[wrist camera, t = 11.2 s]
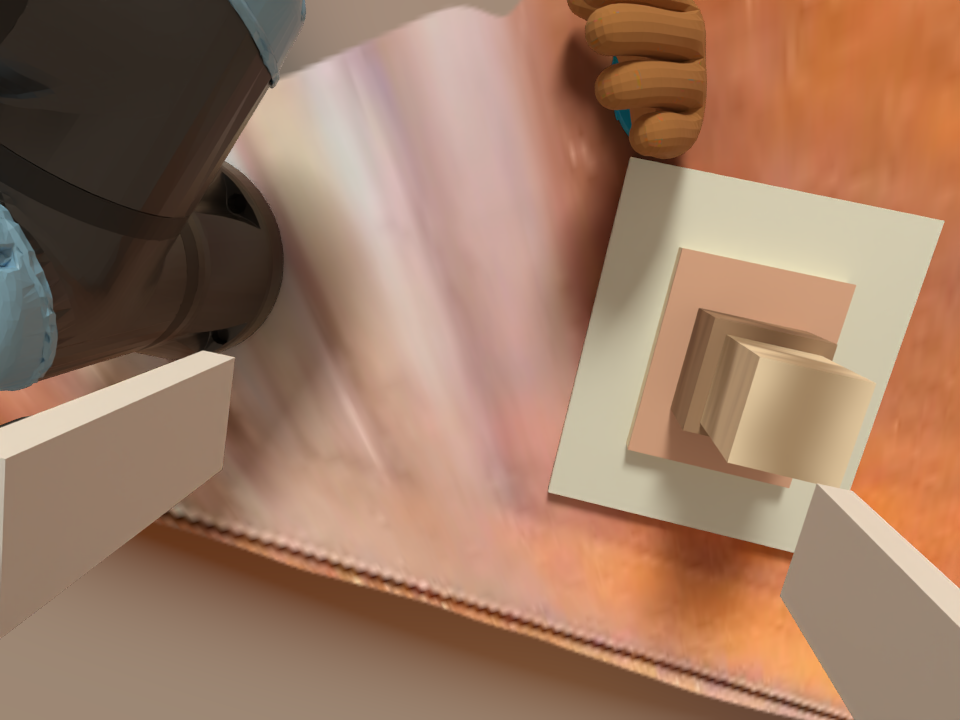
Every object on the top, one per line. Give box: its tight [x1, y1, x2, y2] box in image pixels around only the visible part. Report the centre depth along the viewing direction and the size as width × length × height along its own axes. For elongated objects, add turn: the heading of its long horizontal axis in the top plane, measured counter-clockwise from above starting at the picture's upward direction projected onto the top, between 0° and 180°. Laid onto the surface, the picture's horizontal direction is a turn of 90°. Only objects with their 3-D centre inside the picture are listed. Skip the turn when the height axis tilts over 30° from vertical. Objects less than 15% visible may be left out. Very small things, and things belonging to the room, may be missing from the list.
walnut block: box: [670, 308, 837, 437], centre depth 42 cm, size 7×7×5 cm
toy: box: [567, 0, 707, 159], centre depth 37 cm, size 12×7×15 cm, turn 12°
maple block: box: [700, 334, 876, 488], centre depth 36 cm, size 6×6×7 cm
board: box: [548, 157, 944, 553], centre depth 46 cm, size 20×24×2 cm
